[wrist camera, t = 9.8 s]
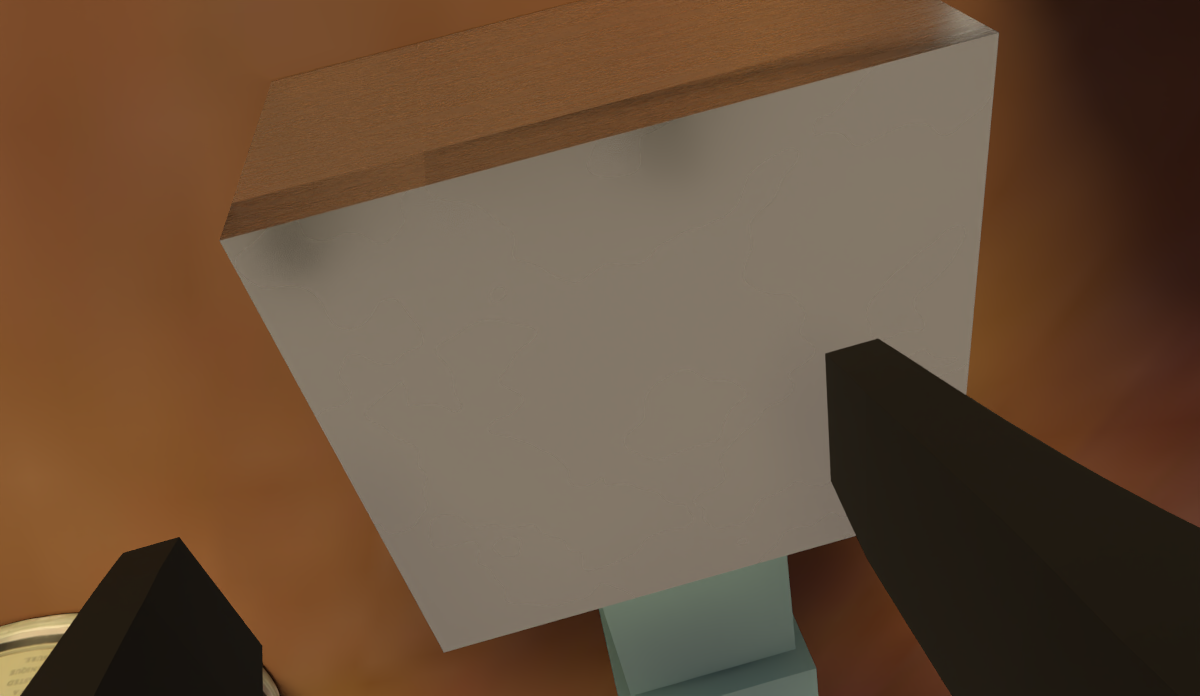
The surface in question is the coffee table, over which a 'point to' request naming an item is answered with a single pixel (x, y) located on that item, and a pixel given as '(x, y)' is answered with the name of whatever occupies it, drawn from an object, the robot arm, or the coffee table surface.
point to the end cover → (712, 638)
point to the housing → (613, 279)
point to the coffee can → (45, 652)
